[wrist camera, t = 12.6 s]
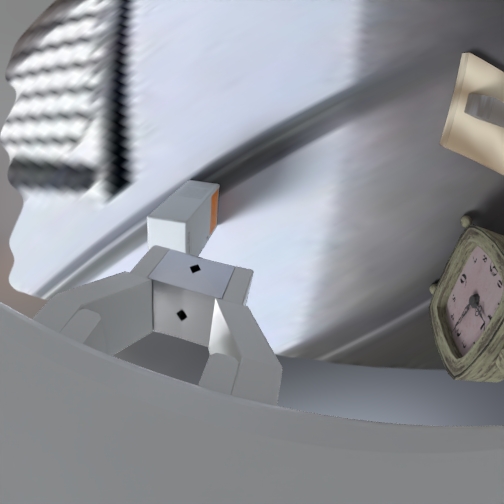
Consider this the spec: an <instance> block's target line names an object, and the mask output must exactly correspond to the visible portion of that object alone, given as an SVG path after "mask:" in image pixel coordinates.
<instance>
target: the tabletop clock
mask: <svg viewBox="0 0 504 504" xmlns="http://www.w3.org/2000/svg"><path fill="white" fill-rule="evenodd" d="M461 224H462V226H463V227H465V228H466V229H465V230H464V232H463V233H462V235H461V237H460V239H459V240H458V242H457V244H456V246H455V248H454V250H453V252H452V254H451V256H450V258H449V260H448V262H447V264H446V266H445V269H444V271H443V273H442V275H441V278H440V280H439V282H438V284H436V283H435V284H432V285H431V286H430V292H431V293H432V294H433V296H432V299H431V302H430V305H429V315H430V322H431V327H432V331H433V335H434V339H435V343H436V346H437V349H438V351H439V354H440V357H441V359H442V362H443V364H444V366H445V368H446V370H447V372H448V374H449V375H450V376H451V377H452V378H453V379H454V380H468V381H482V382H500V381H502V380H504V236H503V235H500V234H498V233H495V232H492V231H490V230H487V229H484V228H482V227H479V226H476V225H472V219H471V217H470V216H467V215H465V216H463V217H462V218H461Z"/></svg>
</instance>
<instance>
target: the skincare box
mask: <svg viewBox="0 0 504 504" xmlns="http://www.w3.org/2000/svg"><path fill="white" fill-rule="evenodd" d="M219 186H220V185H219V184H216V183H207V182H200V181H193V180H188V181H187V182H186V183H185V184H184V185H182V186H181V187H180V188H179V189H178V190H177V191H175V192H174V193H173V194H172V195H171V196H170V197H169V198H167V199H166V200H165V201H164V202H163V203H162V204H161V205H159V206H158V207H157V208H156V209H155V210H154V211H153V212H152V213H150V214H149V215H148V216H147V230H148V250H150V249H151V248H152V246H154V245H158V246H162V247H166V248H170V249H173V250H176V251H180V252H183V253H187V254H190V255H194V256H197V257H198V256H199V254H200V253H201V251H202V249H203V248H204V246H205V245H206V243H207V241H208V240H209V238H210V236H211V235H212V233H213V232H214V230H215V229H216V227H217V212H218V197H219Z"/></svg>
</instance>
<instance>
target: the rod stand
mask: <svg viewBox="0 0 504 504" xmlns="http://www.w3.org/2000/svg"><path fill="white" fill-rule="evenodd" d="M440 145H442V146H444V147H445V148H448V149H450V150H452V151H454V152H457V153H459V154H461V155H463V156H466V157H468V158H470V159H472V160H474V161H476V162H478V163H480V164H483V165H485V166H487V167H489V168H491V169H493V170H495V171H497V172H498V173H500V174H502V175H504V72H502V71H501V70H499V69H497V68H496V67H494V66H492V65H491V64H489V63H487V62H486V61H484V60H482V59H480V58H479V57H477V56H475V55H473V54H471V53H462V57H461V62H460V67H459V72H458V76H457V81H456V85H455V89H454V93H453V98H452V101H451V105H450V109H449V113H448V117H447V120H446V124H445V127H444V131H443V134H442V138H441V141H440Z"/></svg>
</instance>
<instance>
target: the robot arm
mask: <svg viewBox="0 0 504 504" xmlns="http://www.w3.org/2000/svg"><path fill="white" fill-rule="evenodd" d="M252 277H253V270H251V269H246V268H242V267H237V266H236V267H235V266H232V265H228V264H223V263H219V262H215V261H211V260H207V259H203V258H201V257H197V256H194V255H190V254H187V253H183V252H180V251H176V250H173V249H170V248H166V247H162V246H158V245H154V246H152V248H151V249H150V250H149V251H148V252H147V253H146V254H145V255H144V257H143V258H142V259H141V260H140V261H139V262H138V264H137V265H136V266H135V267H134V268H133V269H132V270H131V272H130V273H129V272H122V273H119V274H116V275H113V276H109V277H106V278H103V279H100V280H97V281H94V282H91V283H88V284H85V285H82V286H79V287H76V288H73V289H70V290H67V291H64V292H61V293H58V294H55V295H54V296H53V297H52V298H51V299H50V300H49V301H48V302H47V303H46V305H45V306H44V307H43V308H42V309H41V310H40V311H39V312H38V313H37V314H36V315H35V316H34V317H33V318H32V319H30V318H28V317H26V316H25V315H23V314H21V313H19V312H17V311H15V310H14V309H11V308H10V307H8V306H6V305H5V304H3V303H1V302H0V504H504V425H502V426H471V427H470V426H468V427H467V426H466V427H465V426H464V427H462V426H456V427H455V426H422V425H406V424H393V423H382V422H372V421H364V420H355V419H348V418H341V417H334V416H328V415H321V414H315V413H310V412H304V411H298V410H293V409H288V408H284V407H279V406H277V401H278V395H279V389H280V382H281V375H282V369H283V368H282V366H281V365H280V363H279V361H278V359H277V358H276V356H275V354H274V352H273V350H272V349H271V347H270V345H269V343H268V342H267V340H266V338H265V336H264V335H263V333H262V331H261V329H260V327H259V326H258V324H257V322H256V320H255V318H254V317H253V315H252V313H251V311H250V309H249V308H248V306H246V303H247V299H248V294H249V290H250V286H251V281H252ZM153 330H154V331H157V332H161V333H164V334H168V335H171V336H175V337H178V338H181V339H184V340H187V341H191V342H194V343H197V344H200V345H203V346H206V347H209V352H210V357H209V359H208V362H207V365H206V367H205V369H204V372H203V374H202V377H201V379H200V382H199V384H198V386H197V385H193V384H190V383H187V382H184V381H181V380H177V379H174V378H171V377H168V376H165V375H162V374H159V373H156V372H154V371H151V370H148V369H145V368H142V367H140V366H137V365H134V364H132V363H129V362H126V361H124V360H121V359H119V358H116V357H114V356H112V355H114V354H116V353H117V352H119V351H121V350H122V349H124V348H126V347H127V346H129V345H131V344H133V343H134V342H136V341H138V340H139V339H141V338H143V337H144V336H146V335H148V334H150V333H151V332H153Z"/></svg>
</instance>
